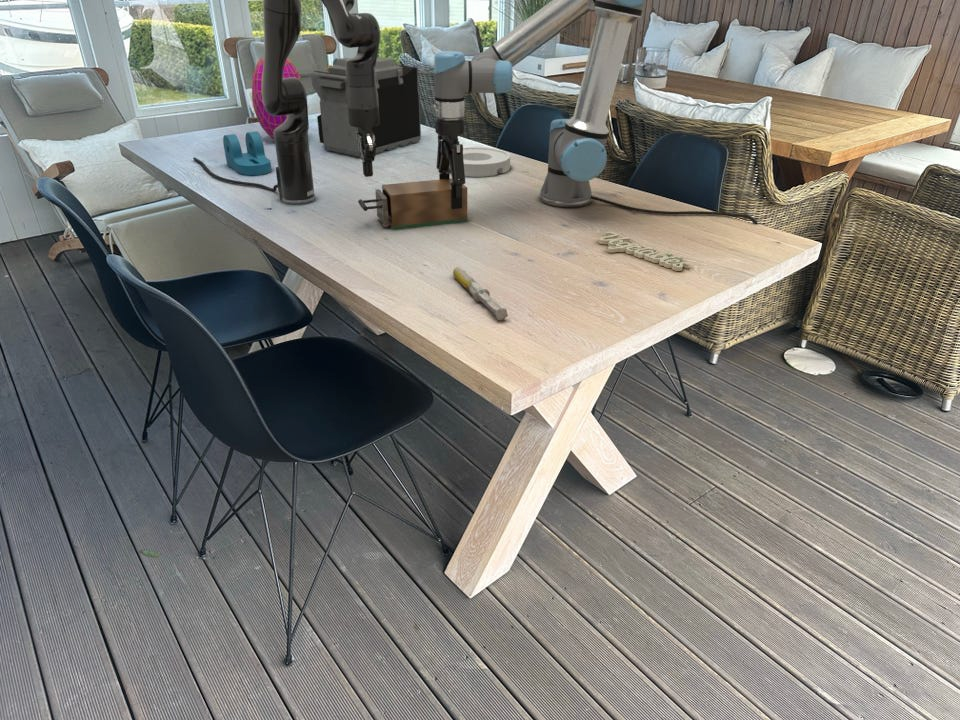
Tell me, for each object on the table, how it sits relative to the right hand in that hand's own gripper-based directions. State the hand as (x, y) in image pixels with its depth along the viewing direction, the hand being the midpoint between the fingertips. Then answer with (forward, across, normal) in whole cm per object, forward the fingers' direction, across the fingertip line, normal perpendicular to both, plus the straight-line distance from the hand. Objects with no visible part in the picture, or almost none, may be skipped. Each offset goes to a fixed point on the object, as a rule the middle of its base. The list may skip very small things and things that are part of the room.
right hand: (450, 202), depth 187 cm
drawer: (+3, 0, -12) cm, 13 cm away
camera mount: (+4, -68, -48) cm, 83 cm away
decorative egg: (+4, -106, -33) cm, 111 cm away
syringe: (+4, +51, -11) cm, 52 cm away
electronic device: (+4, -87, -3) cm, 87 cm away
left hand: (-9, 0, -22) cm, 24 cm away
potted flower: (+4, -136, -5) cm, 137 cm away
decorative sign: (+4, +41, +35) cm, 54 cm away
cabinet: (+4, 0, -7) cm, 8 cm away
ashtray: (+4, -46, +24) cm, 52 cm away
